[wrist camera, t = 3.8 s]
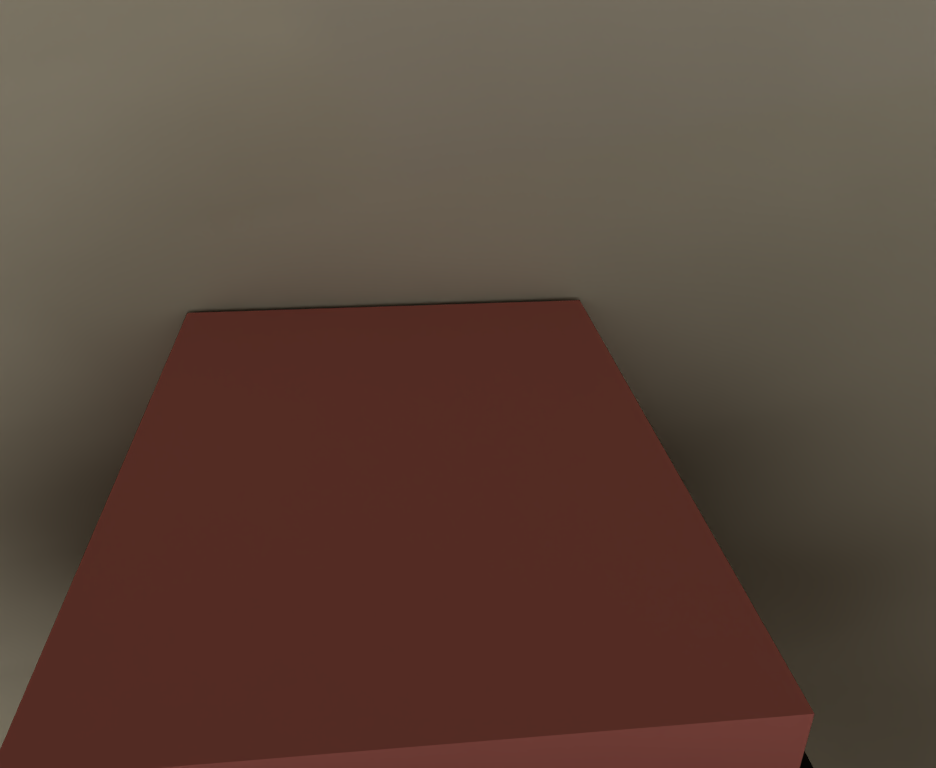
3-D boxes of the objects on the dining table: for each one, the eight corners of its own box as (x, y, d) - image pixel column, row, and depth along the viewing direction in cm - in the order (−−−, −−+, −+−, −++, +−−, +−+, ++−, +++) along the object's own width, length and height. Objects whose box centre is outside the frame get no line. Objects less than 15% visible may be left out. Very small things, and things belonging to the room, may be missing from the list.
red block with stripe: (579, 299, 10) (819, 721, 5) (547, 727, 13) (670, 1257, 8) (187, 313, 10) (-19, 792, 4) (253, 750, 13) (180, 1328, 8)
